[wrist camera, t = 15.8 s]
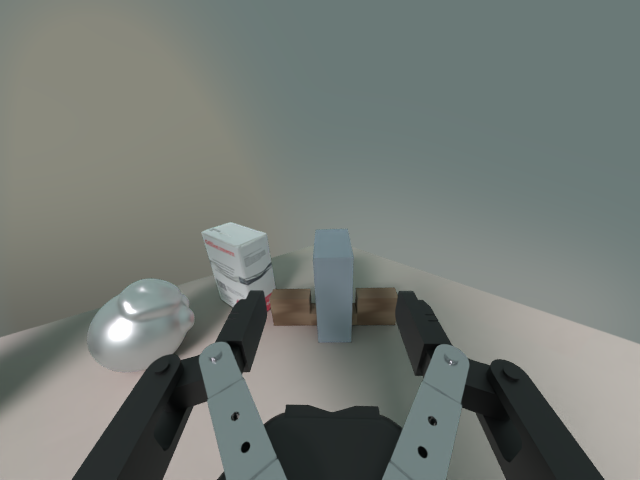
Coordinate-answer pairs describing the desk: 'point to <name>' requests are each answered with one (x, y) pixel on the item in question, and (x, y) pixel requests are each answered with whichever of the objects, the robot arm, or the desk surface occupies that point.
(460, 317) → the desk surface
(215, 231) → the ink box
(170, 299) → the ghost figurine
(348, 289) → the notched block
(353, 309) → the notched rail
